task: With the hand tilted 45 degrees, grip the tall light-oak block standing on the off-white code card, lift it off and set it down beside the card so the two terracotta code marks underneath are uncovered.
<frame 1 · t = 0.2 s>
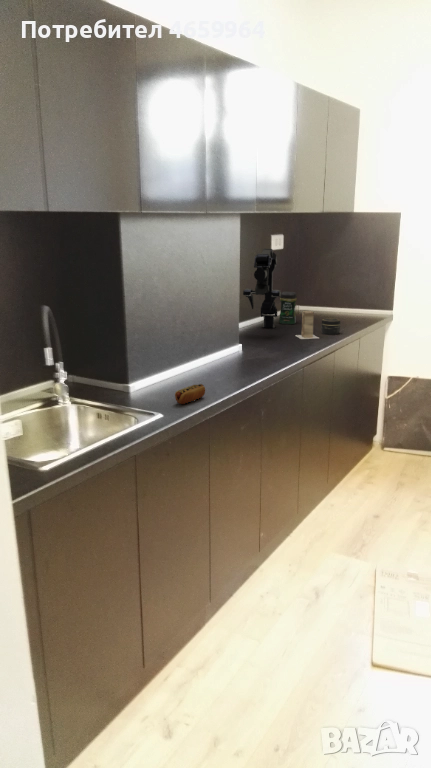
hand: (261, 309, 299), 15 cm above the worktop, tool pointing down, fingers open, 9 cm apart
jar: (330, 334, 311), on the worktop
hot dog: (189, 401, 199), on the worktop
coffee jar: (287, 323, 342), on the worktop
oak block: (307, 336, 302), resting on code card
code card: (307, 337, 302), on the worktop
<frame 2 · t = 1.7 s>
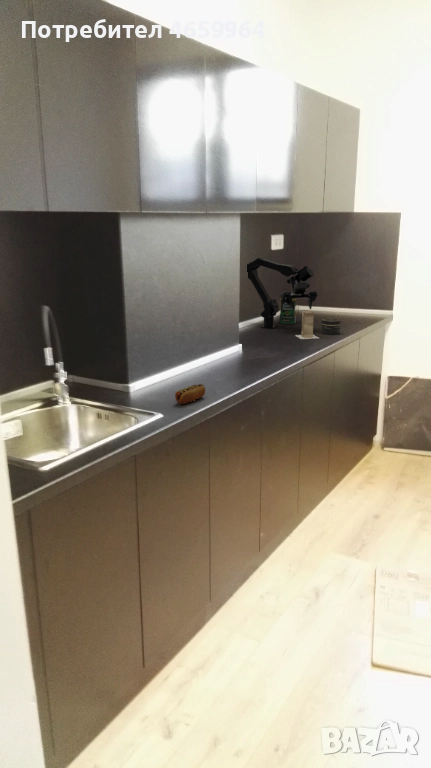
hand: (302, 309, 306), 13 cm above the worktop, tool tilted 45°, fingers open, 9 cm apart
nothing on the worktop moved.
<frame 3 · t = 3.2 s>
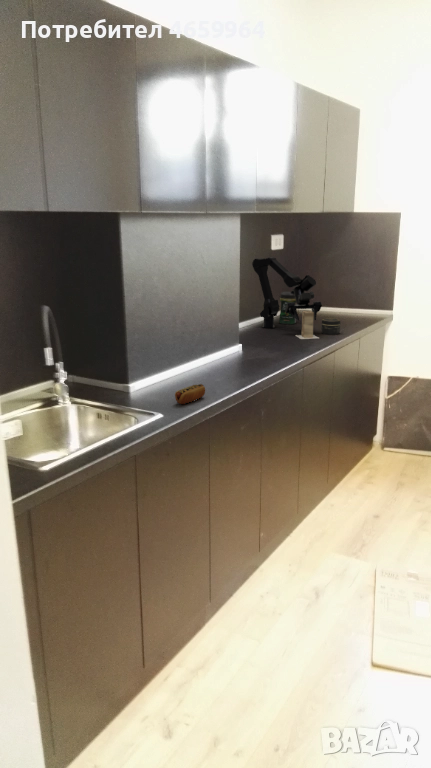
hand: (307, 320, 301), 9 cm above the worktop, tool tilted 45°, fingers open, 9 cm apart
nothing on the worktop moved.
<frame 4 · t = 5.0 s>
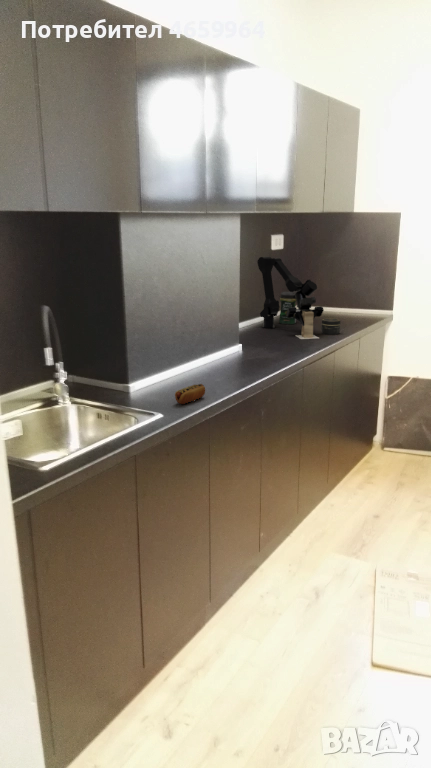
hand: (308, 325, 299), 7 cm above the worktop, tool tilted 45°, fingers closed on oak block, 4 cm apart
oak block: (307, 336, 302), resting on code card, touching gripper
everything else where it was.
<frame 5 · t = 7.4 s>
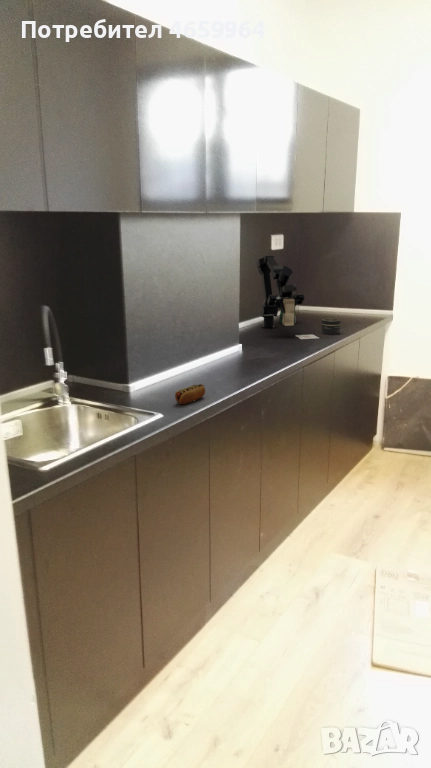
hand: (289, 313, 295), 13 cm above the worktop, tool tilted 45°, fingers closed on oak block, 4 cm apart
oak block: (288, 324, 298), point 7 cm above the worktop, touching gripper
everything else where it was.
when the fingers open (7 cm above the worktop, at t = 9.9 s): oak block drops 1 cm, on the worktop.
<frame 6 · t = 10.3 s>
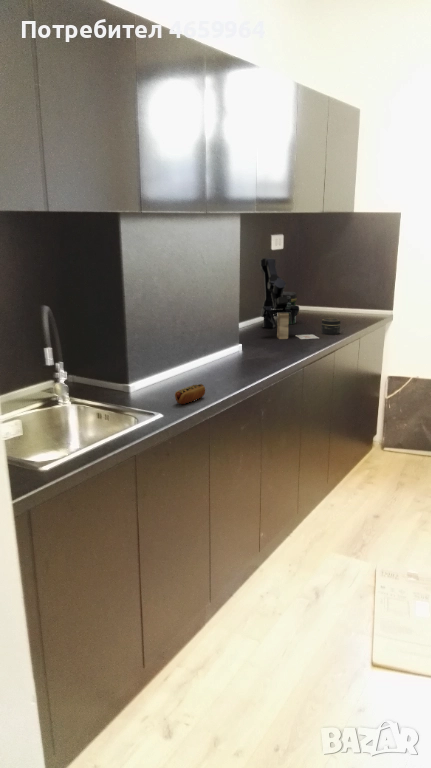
hand: (283, 324, 296), 8 cm above the worktop, tool tilted 45°, fingers open, 9 cm apart
oak block: (282, 338, 299), on the worktop
everything else where it was.
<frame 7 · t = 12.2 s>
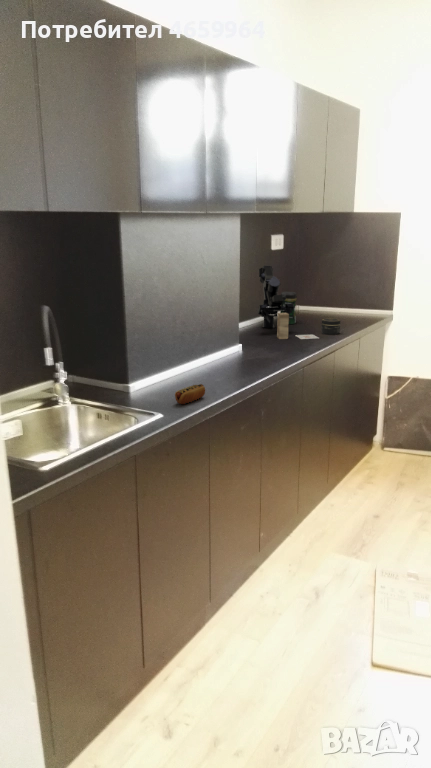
hand: (278, 322, 304), 7 cm above the worktop, tool tilted 45°, fingers open, 9 cm apart
nothing on the worktop moved.
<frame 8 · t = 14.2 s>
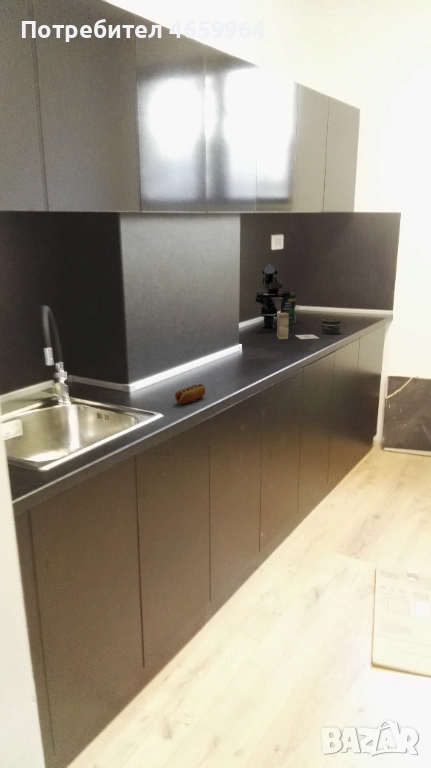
hand: (275, 308, 307), 14 cm above the worktop, tool tilted 45°, fingers open, 9 cm apart
nothing on the worktop moved.
at the end: oak block inside the target area (0.0 cm from its centre), on the worktop; oak block tilted 0°; oak block touching worktop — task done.
